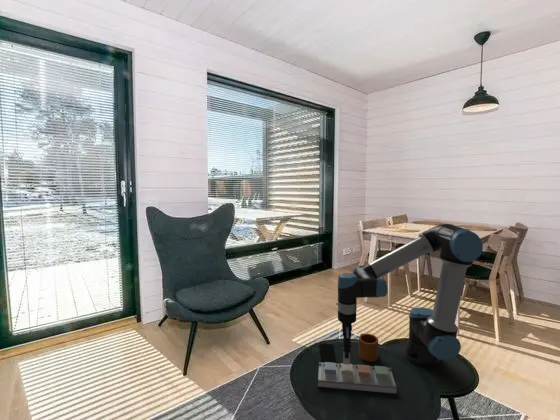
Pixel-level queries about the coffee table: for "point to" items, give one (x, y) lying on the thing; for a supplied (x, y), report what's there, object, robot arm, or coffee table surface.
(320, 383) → the keypad
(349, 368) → the key cream
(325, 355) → the smartphone
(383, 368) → the key sage
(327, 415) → the coffee table surface
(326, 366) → the key blue
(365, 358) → the mug
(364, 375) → the key terracotta
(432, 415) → the coffee table surface
